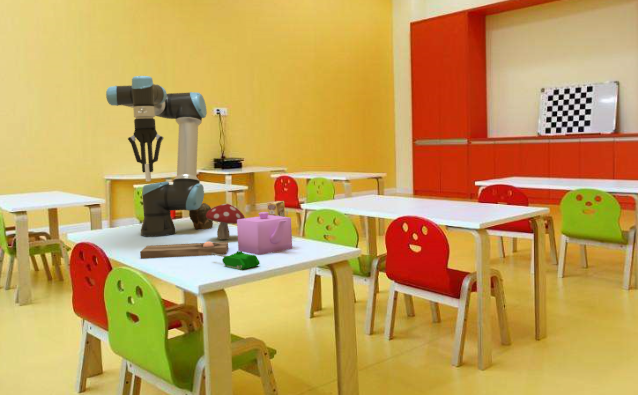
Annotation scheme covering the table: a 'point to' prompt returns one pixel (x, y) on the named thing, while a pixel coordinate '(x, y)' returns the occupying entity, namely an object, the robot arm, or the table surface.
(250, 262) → the toy tank
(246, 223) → the teapot
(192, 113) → the robot arm
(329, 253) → the table surface
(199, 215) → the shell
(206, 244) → the coral ball
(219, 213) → the decorative mushroom
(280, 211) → the candy box
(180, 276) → the table surface
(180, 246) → the walnut board
